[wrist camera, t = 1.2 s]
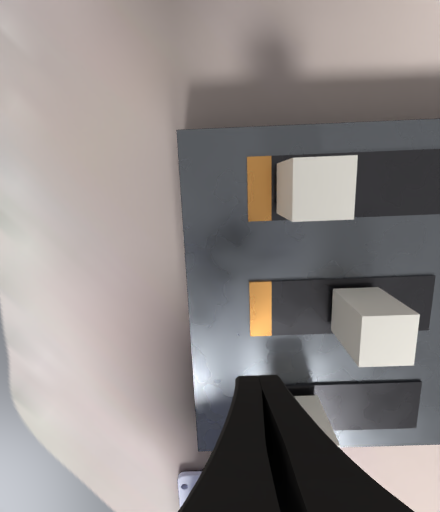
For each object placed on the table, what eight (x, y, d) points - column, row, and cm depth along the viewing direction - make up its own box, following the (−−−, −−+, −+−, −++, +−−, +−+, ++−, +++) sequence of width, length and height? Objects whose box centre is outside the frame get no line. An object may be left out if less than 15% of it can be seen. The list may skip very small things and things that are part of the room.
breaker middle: (374, 328, 17) (413, 365, 13) (330, 330, 17) (358, 367, 13) (378, 287, 16) (420, 314, 13) (332, 288, 16) (362, 316, 13)
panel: (466, 409, 22) (505, 444, 19) (201, 417, 22) (197, 453, 19) (515, 124, 18) (574, 112, 15) (183, 138, 18) (176, 129, 15)
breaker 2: (316, 430, 18) (337, 486, 15) (275, 431, 18) (288, 487, 15) (317, 395, 18) (340, 445, 14) (276, 396, 18) (288, 446, 14)
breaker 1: (324, 211, 15) (354, 219, 12) (276, 213, 15) (292, 221, 12) (326, 161, 15) (357, 155, 11) (276, 163, 15) (293, 157, 11)
